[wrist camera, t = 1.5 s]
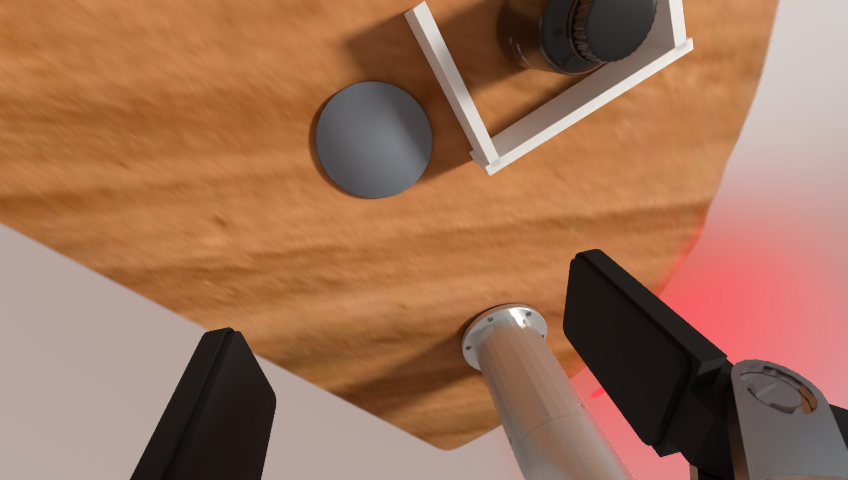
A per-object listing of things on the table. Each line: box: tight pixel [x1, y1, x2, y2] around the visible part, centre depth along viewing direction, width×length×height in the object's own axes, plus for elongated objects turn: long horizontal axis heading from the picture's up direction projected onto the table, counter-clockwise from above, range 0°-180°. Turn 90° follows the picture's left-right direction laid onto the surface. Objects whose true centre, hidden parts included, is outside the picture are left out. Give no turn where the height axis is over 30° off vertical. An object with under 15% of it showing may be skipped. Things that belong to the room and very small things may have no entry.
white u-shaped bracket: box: [404, 0, 693, 176], centre depth 29 cm, size 14×20×5 cm
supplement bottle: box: [497, 0, 657, 75], centre depth 26 cm, size 7×7×12 cm
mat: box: [316, 81, 432, 198], centre depth 33 cm, size 11×11×1 cm
